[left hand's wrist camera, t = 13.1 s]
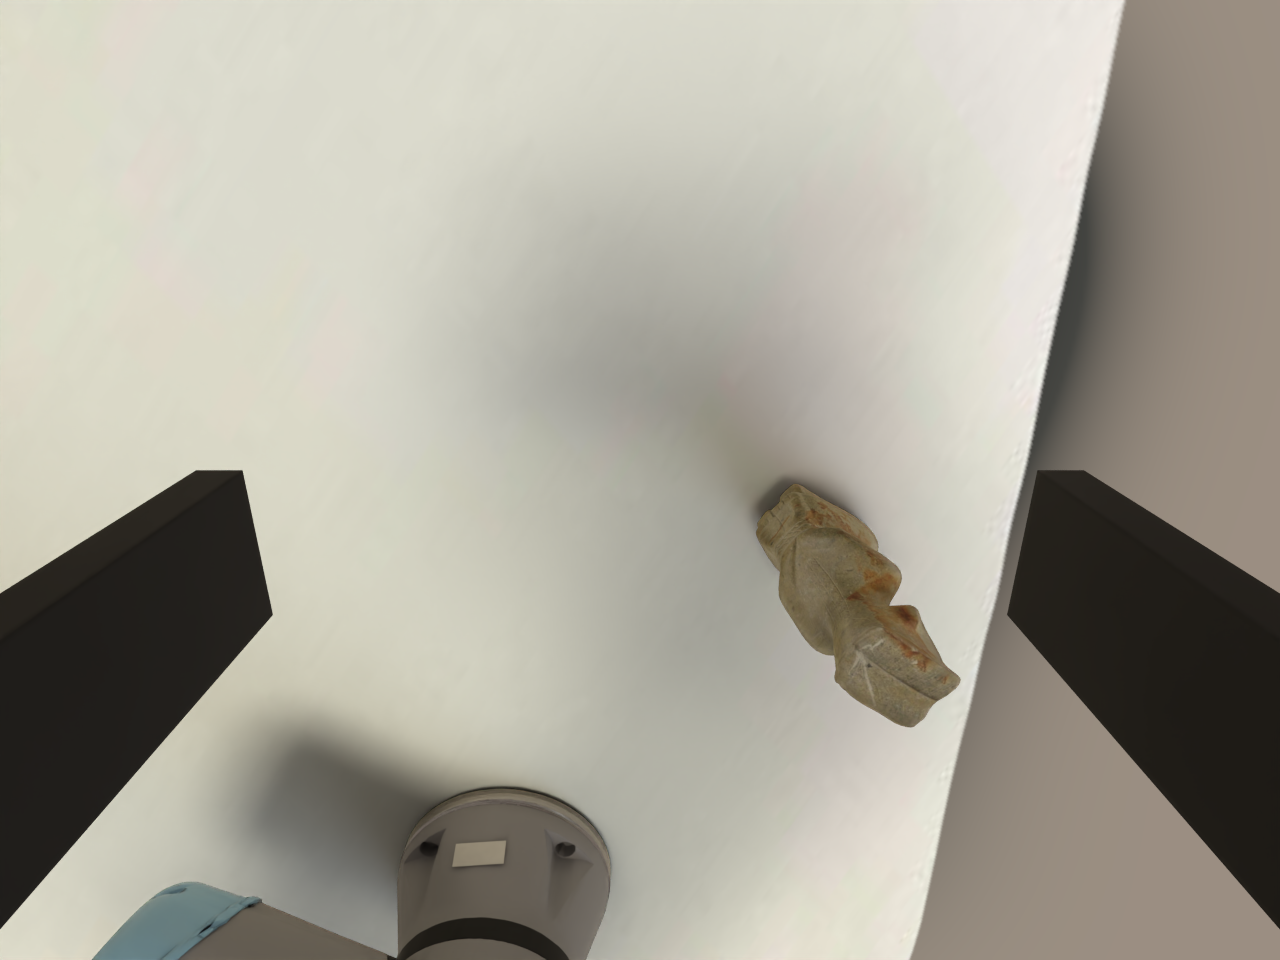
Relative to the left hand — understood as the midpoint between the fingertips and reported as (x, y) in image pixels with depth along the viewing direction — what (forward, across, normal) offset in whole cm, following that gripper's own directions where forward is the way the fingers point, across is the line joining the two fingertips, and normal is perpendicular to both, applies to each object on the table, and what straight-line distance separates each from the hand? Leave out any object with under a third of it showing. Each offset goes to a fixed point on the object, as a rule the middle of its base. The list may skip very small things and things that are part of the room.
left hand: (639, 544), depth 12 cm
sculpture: (+29, -10, +13) cm, 34 cm away
